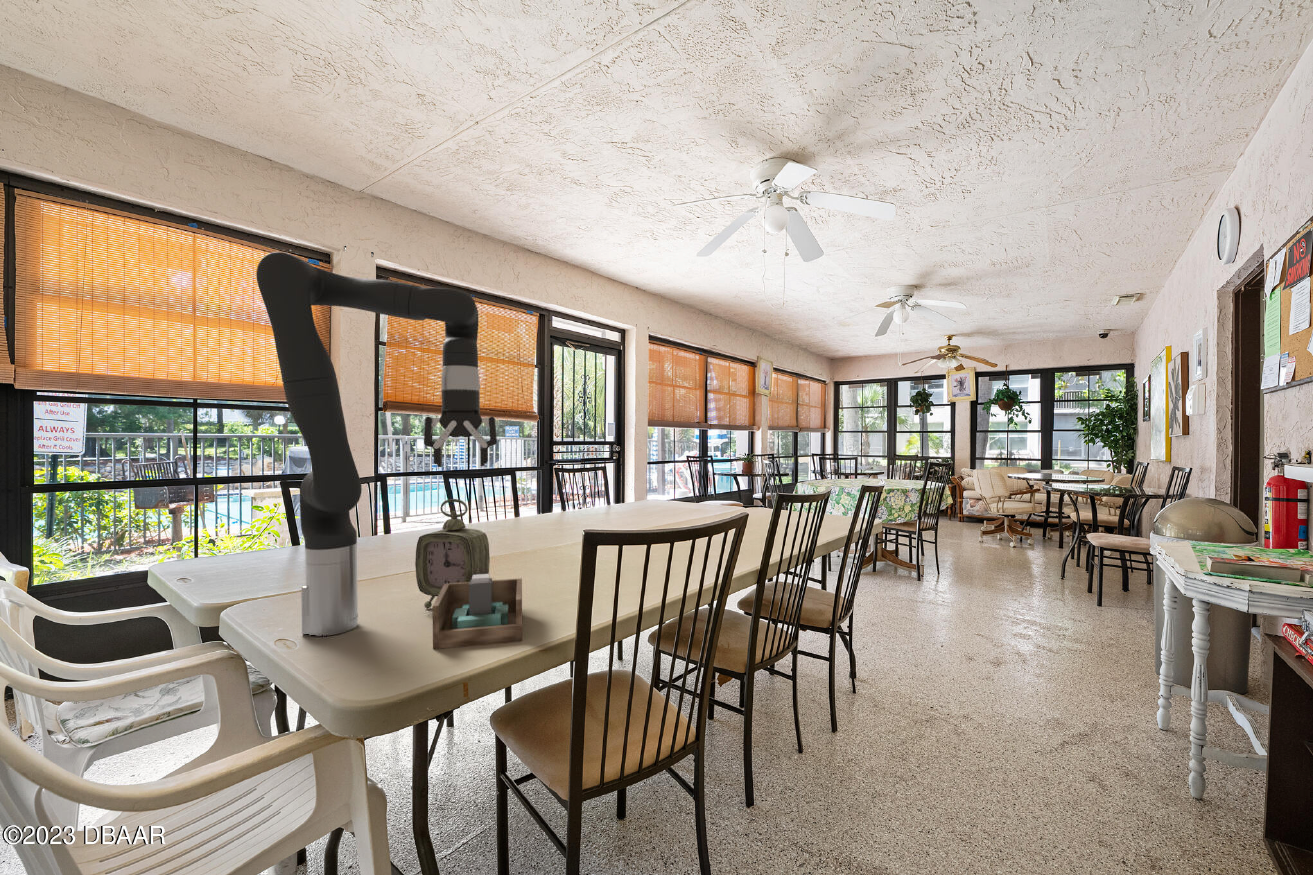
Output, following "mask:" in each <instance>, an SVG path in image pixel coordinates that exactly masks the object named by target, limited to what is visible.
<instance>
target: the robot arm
mask: <svg viewBox="0 0 1313 875" xmlns="http://www.w3.org/2000/svg"><path fill="white" fill-rule="evenodd" d="M255 272H256V283H257V285H258V289H259V292H260V295H261V298H262V300H263V304H264V306H265V310H266V313H267V315H268V318H269V321H270V325H271V329H272V332H273V338H274V343H275V348H276V349H275V350H276V355H277V359H278V364H279V369H280V375H281V380H282V386H283V391H284V395H285V400H286V403H287V407H288V410H289V413H290V414H291V417H292V419H293V421H294V423H295V425H296V426H297V429H298V431H299V432H300V434H301V436H302V438H303V439H304V442H305V444H306V446H307V449H308V450H307V451H308V454H309V458H310V464H311V471H309V472H308V473H307V474H306V475H305V476H304V478H303V479H302V481H301V483H300V489H299V513H300V515H299V516H300V528H301V533H302V535H303V539H304V562H305V563H304V569H305V570H304V574H305V577H304V579H305V580H304V583H305V584H304V585H303V586H302V587H301V589H300V591H301V592H300V594H301V595H300V596H301V635H302V634H309V635H308V636H311V635H316V636H315V637H325V636H326V635H327V636H333V635H334V636H335V635H339V634H343V633H346V632H349V631H351V630H353V629H355V628H357V626H358V625H359V624H358V622H359V618H358V617H359V613H358V612H359V611H358V541H357V540H358V538H357V537H358V534H357V530H356V528H355V527H354V525H353V524H352V520H351V516H350V515H351V514H350V511H351V510H353V509H354V508H355V507H356V506H357V504H358V503H359V501H360V499H361V496H362V490H363V489H362V481H361V479H360V475H359V472H358V470H357V466H356V463H355V461H354V457H353V454H352V450H351V446H350V444H349V440H348V433H347V427H346V422H345V417H344V411H343V406H342V400H341V393H340V386H339V383H338V378H337V374H336V371H335V367H334V364H333V361H332V359H331V357H330V354H329V352H328V351H327V349H326V347H325V345H324V343H323V341H322V339H321V337H320V335H319V332H318V330H317V327H316V325H315V324H316V323H315V320H314V315H313V313H314V312H313V307H312V306H327V307H328V306H330V307H332V306H333V307H340V308H349V309H357V310H361V311H367V312H371V313H375V314H380V315H384V316H390V317H393V318H401V319H407V320H413V321H425V320H432V321H438V322H442V323H443V322H444V338H445V340H444V342H443V344H442V372H441V381H440V382H441V414H440V416H439V417H431V416H426V417H425V418H424V436H423V437H424V439H423V444H424V446H425V447H426V446H427V447H431V448H432V449H433V463H434V465H436V466H437V468H442V467H443V448H442V446H443V445H444V444H445V443H446V441H447V440H448V439H449V438H450V437H451V438H461V437H462V438H471V437H473V438H474V439H475V441H476V442H478V444H479V445H480V447H481V448H480V450H479V451H480V453H479V454H480V467H485V464H488V462H489V451H488V450H489V448H490V447H492V446H495V445H497V443H498V441H497V440H498V439H497V438H498V437H497V428H496V418H495V417H494V416H490V417H482V416H481V409H480V408H481V406H480V405H481V403H480V402H481V401H480V398H481V396H480V389H481V383H480V374H479V353H478V352H479V351H478V335H479V310H478V307H477V303H476V302H475V300H474V299H473V297H472V295H470V294H468V293H467V292H466V291H462V290H459V289H455V288H448V287H434V286H433V287H431V286H430V287H428V286H427V287H424V286H421V285H415V284H410V283H405V282H399V281H394V280H386V279H374V278H360V277H353V276H348V275H343V274H342V275H341V274H338V273H334V272H332V271H328V270H325V269H322V268H320V267H318V266H315V265H313V264H311V263H310V262H308V261H306V260H304V259H302V258H300V257H298V256H296V255H293V254H290V253H288V252H284V251H283V252H282V251H273V252H270V253H268V254H266V255H265V256H263V257H262V258H261V259H260V261H259V262H258V265H257V267H256V271H255ZM482 423H484V425H485V427H486V428H489V430H488V431H489V440H487V441H486V439H485V438H484V437H483V435H482V434H481V433H480V432H479V431H478V429H479V428H480V427H481V426H482ZM438 424H440V426H441V427H442V428H443V429H444V430H443V431H442V433H440V435H439V437H438V439H437V440H436V441H434V440H433V433H434V428H436V427H437V425H438ZM322 635H323V636H322Z"/></svg>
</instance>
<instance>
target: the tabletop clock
mask: <svg viewBox="0 0 1313 875" xmlns="http://www.w3.org/2000/svg"><path fill="white" fill-rule="evenodd" d="M448 503H459V504H462V505H463V507H464V508H465V510H464V512H462V513H459V514H458V513H457V511H456V510H453V511H451V513H448V512H445V511H444V510H443V508H444V506H445V504H448ZM440 512H441V513H442V514H443V516H445V517H448V519H447V520H445V522H444V524H442V525H443V526H442V529H440V530H437V531H432V532H429V533H425V534H423V535H420V536H419V537H418V539H417V543H416V547H415V563H414V565H415V567H414V568H415V576H416V584H417V587H418V589H419V592H420V593H421V594H424V595H427V596H431V597H430V598H429V600H427V601H425V603H424V608H425V609H430V608H431V607H433V603H432V602H433V600H434V599H435V597H436V598H437V597H438V595H439V593H440V591H441V590H442V588H443V586H444V584H447V583H461V582H470V580H471V579H472V577H473V575H478V574H489V575H490V561H491V560H490V544H489V539H488V536H487V533H485V532H484V531H482V530H480V529H475V528H467V527H466V524H465V522H464V521H463V520H462V519H461V518H462V517H463V516H465V515H466V514H467V512H468V505H467V504H466V502H464V500H461V499H457V498H449V499H446V500H444V501H443V502H442V503H441V505H440ZM449 518H450V519H449Z"/></svg>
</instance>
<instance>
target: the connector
mask: <svg viewBox="0 0 1313 875" xmlns="http://www.w3.org/2000/svg"><path fill="white" fill-rule="evenodd" d="M492 580H493V577H490V573H489V574H478V575H473V577H472V579H471V580H470V583H469V616H475V615H487V614H493V609H492Z"/></svg>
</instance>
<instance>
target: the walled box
mask: <svg viewBox="0 0 1313 875" xmlns="http://www.w3.org/2000/svg"><path fill="white" fill-rule="evenodd" d="M469 583H470V582H461V583H447V584H444V586H443V588H442V590H441V591H440V593H439V595H438V597H437V596H436V599H435V601H434V603H432V649H433V650H439V649H448V648H449V649H450V648H459V647H468V646H469V647H471V646H472V647H473V646H479V645H480V646H481V644H483V645H491V644H501V643H504V644H505V643H512V642H521V641H522V642H523V578H522V577H521V578H510V579H509V578H508V579H492V609H493V614H487V615H475V616H469Z"/></svg>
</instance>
